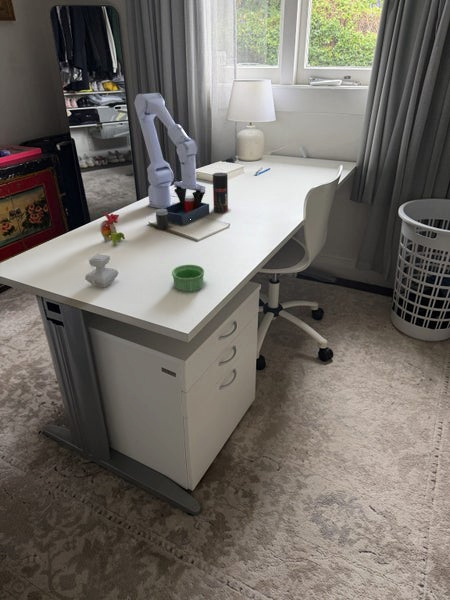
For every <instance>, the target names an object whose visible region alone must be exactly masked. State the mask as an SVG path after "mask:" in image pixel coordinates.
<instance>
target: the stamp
mask: <svg viewBox="0 0 450 600" xmlns="http://www.w3.org/2000/svg"><path fill="white" fill-rule="evenodd" d="M110 260H111V256H110V255H106V254H99V253H96V254H94V255H93V256H92V257H91V258H88V263H89V265H90V266H91V267H93V268H94V267H95V268H94V269H93V270H92V271H90V272H88V273H86V275H85V277H84V280H85V281H86V282H88V283H89V284H91V286H96V287H100V288H106V287H108V286H109V285H110V284H112V283H113V282H114V281H115V280H116V278H117V277H118V275H119V271H118V269H114V268H109V267H106V266H107V265H108V264H109V263H110Z"/></svg>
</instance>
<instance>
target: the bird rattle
mask: <svg viewBox="0 0 450 600" xmlns="http://www.w3.org/2000/svg"><path fill="white" fill-rule="evenodd" d="M104 216H105V218H106V219H105V220H103V221H101V224H100V226H99V227H100V229H99V231H100V234H101V236H102V237H103V240H104V242H112V244H113V246H115V245H116V242H121V240H126V238H125V234H124V233H123V232H122V231H121V232H117V227H116V225H115V224H118V218H119V217H120V215H119V214H114V213H111V214H109V213H107V212H104Z"/></svg>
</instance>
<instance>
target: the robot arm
mask: <svg viewBox="0 0 450 600" xmlns="http://www.w3.org/2000/svg"><path fill="white" fill-rule="evenodd" d="M165 103H166V101H165V99H164V98H163V96H162V95H161V93H160V92H153V93H152V92H151V93H138V94H137V95H136V96H135V99H134V107H135V111H136V114H137V118H138V121H139V124H140V129H141V132H142V135H143V139H144V143H145V147H146V151H147V154H148V157H149V161H150V164H149V166H148V167H147V168H146V172H147V180H148V182H149V184H150V185H149V186H148V190H147V194H148V202H149V203H148V205H147V206H148V207H152V208H156V209H162V208H165V207H168V206H170V205H173V204H175V202H172V192H171V191H172V190H171V185H172V182H173V181H174V176H175V175H174V172H173V170H172V168H171V165H170V163H168V162H167V161H166V160H165V159H164V157H163V152H162V149H161V145H160V142H159V138H158V134H157V129H156V126H155V122H154V119H155V117H156V116H157V118H158V119H159V120H160V121H161V123H162V124H163V125H164V127H165V128H166V129H167V135H168V136H169V138H170V140H171V141H172V142H173V144H174V145H175V147H176V149H175V150H176V154H177V156H178V160H179V162H180V173H181V181H175V182H173V188H174V194H176V196H177V198H178V200H179V201H178V202H180V204H181V206H184V205H185V196H187V190H190V191H193V192H192V196H194V200H195V208H196V209H197V208H199V207H200V205H201V202H202V200H203V198H204V196H205V194H206V186H204V185H202V184H198V183H197V169H196V167H197V165H196V155H197V154H198V153H199V145H198V143H197V141H196V140H194V139H192V138H191V137H189V136H188V135H187V133H186V132H185V130H184V129H183V127H182V126H181V125H180V124H178V123H175V121H174V119H173V118H172V116H171V114H170V112H169V111H168V109H167V107H166V104H165Z"/></svg>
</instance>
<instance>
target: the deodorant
mask: <svg viewBox="0 0 450 600" xmlns="http://www.w3.org/2000/svg"><path fill="white" fill-rule="evenodd" d="M228 179H229V178H228V173H227V172H214V173H212V197H213V201H212V202H213V212H214V213H217V214H224V213H228V212H229V188H228V187H229V185H228Z"/></svg>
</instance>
